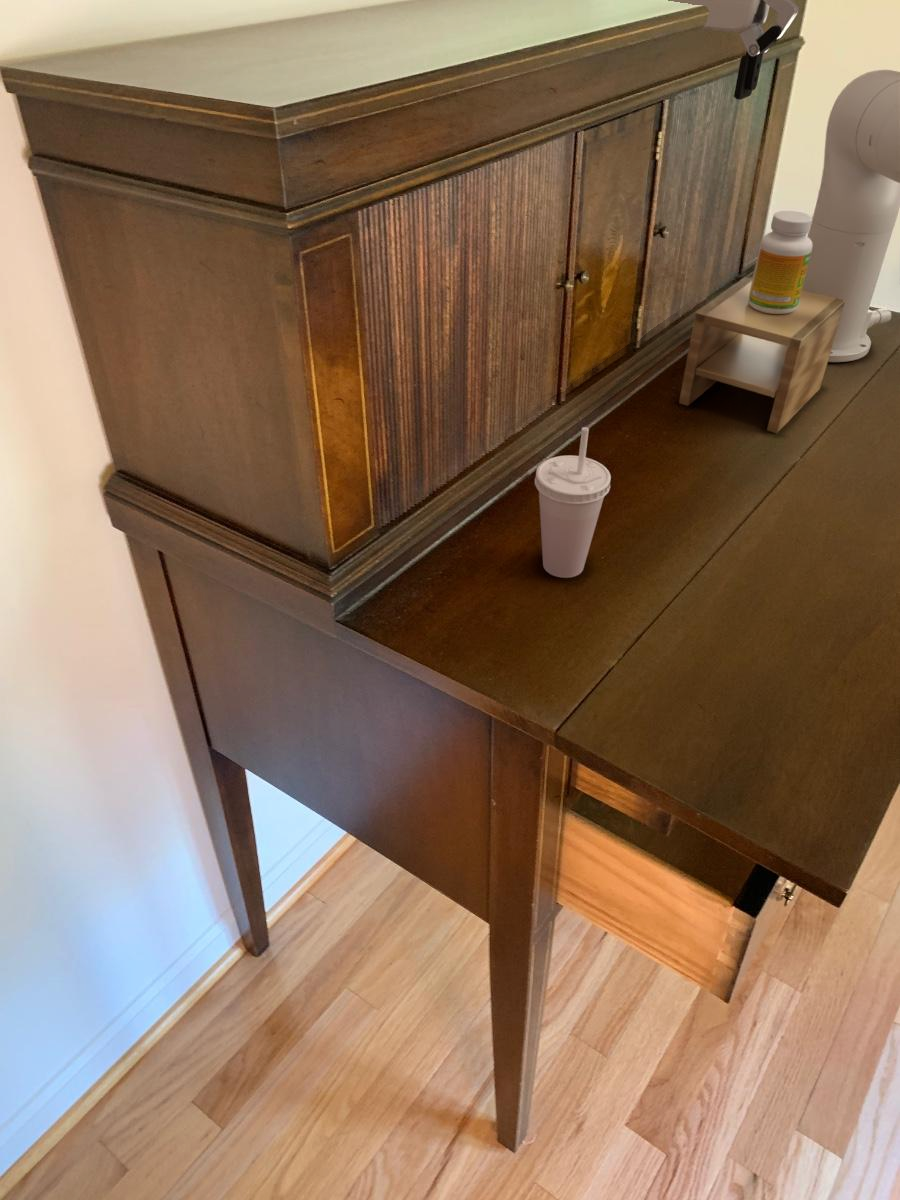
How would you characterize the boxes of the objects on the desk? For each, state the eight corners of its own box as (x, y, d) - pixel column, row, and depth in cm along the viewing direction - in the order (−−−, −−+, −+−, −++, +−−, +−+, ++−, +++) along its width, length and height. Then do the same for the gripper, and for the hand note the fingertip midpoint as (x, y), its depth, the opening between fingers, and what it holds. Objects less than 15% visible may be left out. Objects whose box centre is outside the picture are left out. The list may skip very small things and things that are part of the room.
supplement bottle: (799, 317, 100) (823, 225, 94) (749, 313, 101) (769, 222, 95) (794, 299, 105) (816, 210, 98) (745, 295, 105) (764, 206, 99)
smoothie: (595, 591, 80) (615, 451, 72) (523, 581, 81) (534, 443, 73) (601, 549, 85) (620, 413, 76) (532, 540, 86) (544, 405, 77)
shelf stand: (727, 362, 117) (745, 276, 110) (819, 389, 111) (845, 300, 104) (678, 403, 108) (695, 312, 101) (776, 433, 103) (801, 340, 96)
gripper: (834, -107, 87) (790, 96, 98) (668, -112, 95) (644, 76, 106) (806, -105, 82) (763, 108, 93) (634, -111, 90) (612, 86, 101)
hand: (700, 91), depth 99 cm, fingers open, 9 cm apart
